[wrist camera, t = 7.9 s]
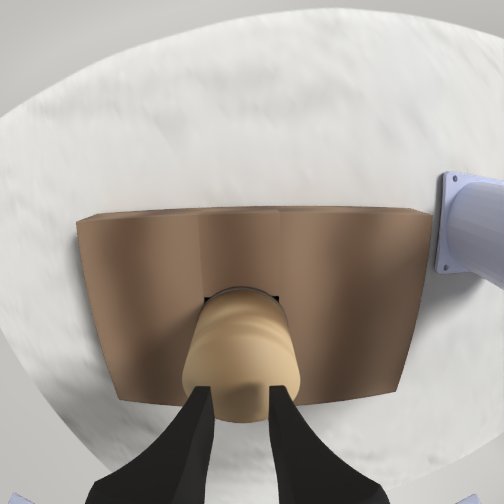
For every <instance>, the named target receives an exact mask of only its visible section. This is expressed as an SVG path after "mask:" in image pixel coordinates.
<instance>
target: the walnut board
mask: <svg viewBox="0 0 504 504" xmlns="http://www.w3.org/2000/svg"><path fill="white" fill-rule="evenodd" d="M432 219H433V215H430V214H427V213H423V212H420V211H417V210H414V209H411V208H388V207H352V206H248V207H211V208H185V209H164V210H146V211H131V212H116V213H103V214H96V215H93V216H90V217H88V218H85V219H82V220H80V221H77V222H76V226H77V234H78V242H79V248H80V255H81V261H82V267H83V272H84V277H85V283H86V287H87V292H88V297H89V301H90V306H91V310H92V314H93V318H94V322H95V326H96V330H97V333H98V337H99V340H100V344H101V347H102V351H103V354H104V357H105V360H106V364H107V367H108V370H109V373H110V376H111V379H112V382H113V384H114V387H115V390H116V393H117V395H118V398H119V400H125V401H132V402H140V403H149V404H159V405H170V406H184V404H185V403H186V401H187V399H188V397H187V395H186V393H185V391H184V388H183V384H182V373H183V369H184V366H185V362H186V359H187V356H188V352H189V349H190V345H191V342H192V338H193V335H194V332H195V328H196V325H197V319H198V316H199V312H200V310H201V308H202V306H203V305H204V303H205V302H206V301H207V300H208V299H209V298H210V297H211V296H213V295H214V294H216V293H217V292H219V291H221V290H224V289H227V288H231V287H238V286H246V287H253V288H257V289H260V290H262V291H265V292H267V293H268V294H270V295H271V296H274V298H275V299H276V300H277V301H278V302H279V303H280V305H281V306H282V307H283V309H284V311H285V314H286V317H287V321H288V328H289V332H290V336H291V341H292V345H293V349H294V353H295V357H296V361H297V365H298V369H299V374H300V387H299V391H298V393H297V396H296V397H295V399H294V400H293V403H294V404H295V406H299V405H311V404H321V403H329V402H337V401H345V400H352V399H358V398H364V397H370V396H376V395H381V394H386V393H391V392H396V390H397V387H398V384H399V381H400V378H401V374H402V371H403V368H404V365H405V361H406V358H407V355H408V351H409V347H410V344H411V340H412V336H413V332H414V328H415V324H416V320H417V315H418V311H419V306H420V301H421V296H422V291H423V286H424V280H425V274H426V268H427V262H428V254H429V247H430V239H431V229H432Z"/></svg>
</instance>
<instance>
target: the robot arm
mask: <svg viewBox="0 0 504 504" xmlns="http://www.w3.org/2000/svg"><path fill="white" fill-rule="evenodd" d="M453 176H454V178H455V179H454V181H453ZM445 265H446V267H445V269H444V266H445ZM435 271H436V272H437V273H438V274H447V273H460V272H474V273H476V274H477V275H479V276H481V277H482V278H484V279H486V280H488V281H489V282H491V283H493V284H494V285H496V286H498V287H499V288H501V289H503V290H504V181H500V180H496V179H491V178H485V177H480V176H474V175H469V174H463V173H457V172H450V171H447V172H445V173H444V176H443V195H442V210H441V222H440V232H439V240H438V248H437V255H436V262H435ZM268 419H269V435H270V442H271V447H272V453H273V458H274V463H275V469H276V474H277V481H278V492H279V504H390V502H389V499H388V497H387V495H386V493H385V491H384V490H383V488H382V486H381V485H380V484H378V483H376V482H375V481H373V480H371V479H369V478H367V477H366V476H364V475H362V474H361V473H359V472H358V471H356V470H355V469H353V468H352V467H350V466H349V465H348V464H347V463H345V462H344V461H343V460H342V459H340V458H339V457H338V456H337V455H335V454H334V453H333V452H332V451H331V450H330V449H329V448H328V447H327V446H326V445H325V444H324V443H323V442H322V441H321V440H320V439H319V438H318V436H317V435H316V434H315V433H314V432H313V430H312V429H311V428H310V427H309V425H308V424H307V423H306V421H305V420H304V418H303V417H302V415H301V414H300V412H299V411H298V409H297V408H296V406H295V404H294V403H293V401H292V399H291V397H290V395H289V393H288V391H287V388H286V387H285V386H284V385H275V386H269V412H268ZM214 423H215V415H214V408H213V401H212V394H211V387H210V386H196V387H194V389H193V391H192V393H191V394H190V396H189V398H188V399H187V401H186V403H185V404H184V406H183V407H182V409H181V410H180V411H179V413H178V414H177V416H176V417H175V418H174V420H173V421H172V422H171V423H170V425H169V426H168V427H167V428H166V429H165V431H164V432H163V433H162V434H161V435H160V436H159V437H158V438H157V439H156V440H155V441H154V442H153V443H152V444H151V445H150V446H149V447H148V448H147V449H146V450H144V451H143V452H142V453H141V454H140V455H139V456H137V457H136V458H135V459H133V460H132V461H131V462H129V463H128V464H126V465H125V466H123V467H122V468H120V469H118V470H117V471H115V472H113V473H112V474H110V475H108V476H106V477H104V478H102V479H100V480H98V481H96V482H95V483H94V485H93V486H92V488H91V490H90V492H89V494H88V497H87V499H86V502H85V504H204V500H205V483H206V476H207V471H208V465H209V460H210V454H211V449H212V444H213V438H214ZM8 504H34V503H33V502H31V501H29V500H27V499H25V498H23V497H22V496H20V495H18V494H16V493H13V495H12V497H11V499H10V501H9V503H8ZM456 504H481V502H480V501H479V499H478V497H477V495H476V494H473V495H471V496H469V497H467V498H466V499H463V500H462V501H460V502H458V503H456Z"/></svg>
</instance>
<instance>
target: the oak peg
mask: <svg viewBox="0 0 504 504" xmlns="http://www.w3.org/2000/svg"><path fill="white" fill-rule="evenodd" d="M182 384H183V388H184V391H185V393H186V395H187V397H188V398H189V396H190V394H191V393H192V391H193V389H194V387H196V386H210V387H211V394H212V401H213V408H214V415H215V418H216V419H219V420H222V421H227V422H233V423H252V422H258V421H262V420H265V419H268V412H269V386H275V385H284V386H285V387H286V388H287V391H288V393H289V395H290V397H291V399H292V401H293V400H294V399H295V397H296V396H297V393H298V391H299V387H300V374H299V369H298V365H297V361H296V357H295V353H294V349H293V345H292V341H291V336H290V332H289V328H288V321H287V317H286V314H285V311H284V309H283V307H282V306H281V305H280V303H279V302H278V301H277V300H276V299H275V298H274V297H273V296H271V295H270V294H268V293H267V292H265V291H262V290H260V289H257V288H253V287H246V286H238V287H231V288H227V289H224V290H221V291H219V292H217V293H216V294H214V295H213V296H211V297H210V298H209V299H208V300H207V301H206V302H205V303H204V305H203V306H202V308H201V310H200V312H199V316H198V319H197V325H196V328H195V332H194V335H193V338H192V342H191V345H190V349H189V352H188V356H187V359H186V362H185V366H184V369H183V373H182Z"/></svg>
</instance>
